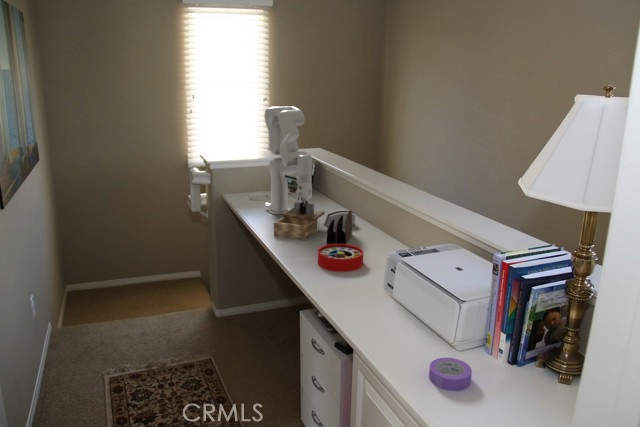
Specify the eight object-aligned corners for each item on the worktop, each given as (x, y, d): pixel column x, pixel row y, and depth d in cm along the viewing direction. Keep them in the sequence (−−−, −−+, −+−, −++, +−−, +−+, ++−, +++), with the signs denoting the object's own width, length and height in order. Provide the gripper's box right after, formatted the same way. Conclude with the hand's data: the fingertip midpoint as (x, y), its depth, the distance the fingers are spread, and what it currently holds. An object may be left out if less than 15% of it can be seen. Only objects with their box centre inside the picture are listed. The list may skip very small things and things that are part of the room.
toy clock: (371, 256, 240) (328, 261, 233) (370, 268, 242) (328, 274, 234) (351, 241, 258) (311, 246, 251) (351, 253, 260) (310, 258, 252)
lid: (282, 216, 290) (282, 205, 288) (293, 209, 302) (293, 198, 301) (315, 220, 284) (315, 208, 282) (324, 213, 297) (324, 202, 295)
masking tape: (421, 381, 159) (422, 369, 158) (440, 364, 168) (441, 352, 167) (459, 396, 152) (461, 384, 151) (477, 378, 161) (478, 366, 160)
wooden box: (273, 235, 282) (273, 222, 280) (285, 228, 295) (285, 215, 293) (307, 240, 276) (307, 226, 274) (317, 232, 289) (317, 219, 287)
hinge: (351, 222, 308) (354, 207, 302) (354, 227, 304) (357, 212, 299) (322, 224, 302) (325, 209, 296) (325, 229, 298) (328, 214, 293)
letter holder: (351, 234, 287) (352, 208, 283) (346, 247, 268) (347, 218, 264) (332, 233, 289) (333, 206, 285) (325, 245, 270) (326, 217, 266)
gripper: (305, 182, 279) (304, 217, 284) (316, 175, 294) (316, 209, 299) (291, 180, 282) (291, 215, 287) (303, 174, 296) (303, 208, 301)
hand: (303, 212), depth 293 cm, fingers closed on lid, 3 cm apart
